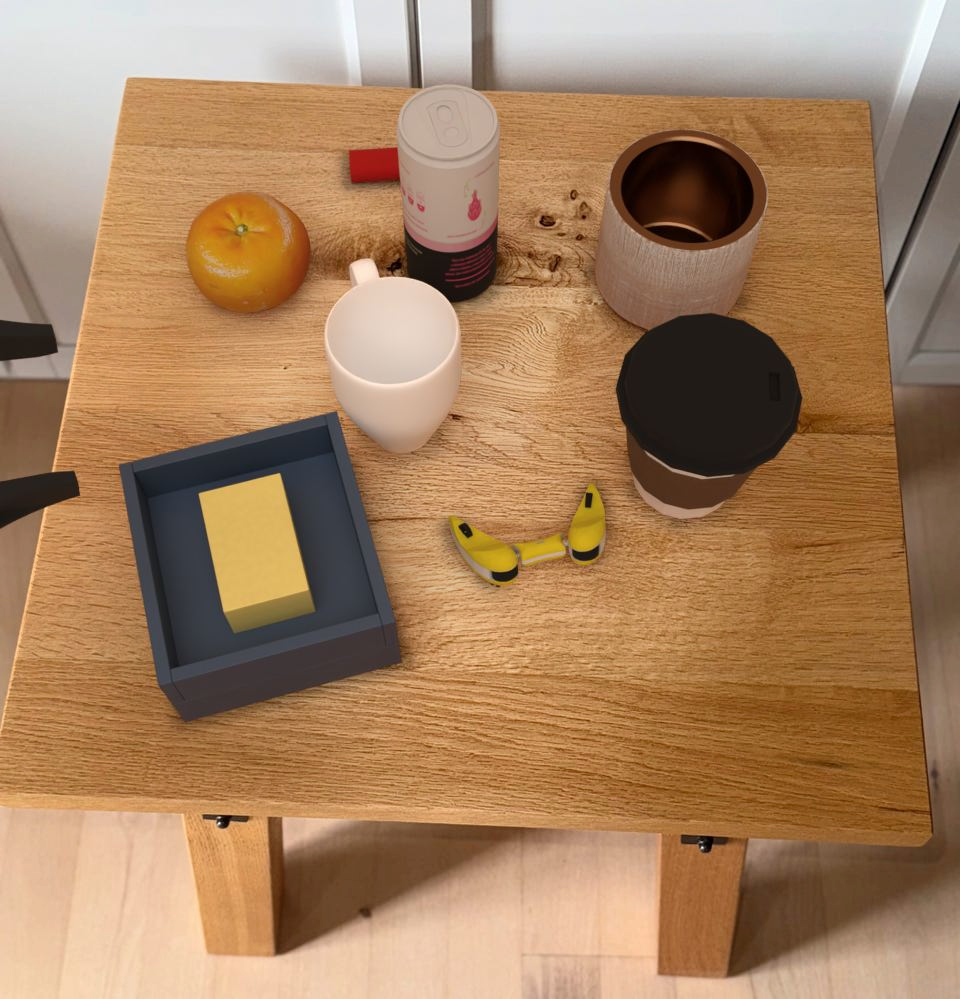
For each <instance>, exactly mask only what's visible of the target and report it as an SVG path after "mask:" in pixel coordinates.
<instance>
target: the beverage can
mask: <svg viewBox="0 0 960 999" xmlns="http://www.w3.org/2000/svg"><path fill="white" fill-rule="evenodd" d="M395 130H396V134H395V135H396V146H397V147H398V159H399V172H400V180H399V182H400V183H399V184H400V195H401V196H400V197H401V208H402V221H403V232H404V246H405V256H406V258H405V260H406V268H407V269H406V270H407V275H408V276H407V277H408V278H411V279H415V280H418V281H421V282H424V283H426V284H428V285H430V286H432V287H433V288H435V289H436V290H438V291H439V292H440V293H441V294H443V295H444V296H445V297H446V299H447V300H448V301H449V302H450V304H457V303H465V302H468V301H471V300H473V299H475V298H477V297H479V296H481V295H482V294H483V293H484V292H486V291H487V290H488V289H489V288H490V286H491V285H492V283H494V282H493V281H494V280H495V278H496V275H497V269H498V236H499V235H498V233H499V232H498V230H499V195H500V194H499V192H500V185H499V184H500V158H501V157H500V156H501V155H500V154H501V124H500V121H499V118H498V113H497V111H496V109H495V107H494V105H493V103H492V102H491V101H490V100H489V98H487V97H486V96H485V95H484V94H482V93H481V92H480V91H478V90H476V89H473V88H471V87H469V86H464V85H461V84H453V83H448V84H447V83H446V84H445V83H443V84H436V85H432V86H428V87H426V88H423V89H421V90H418V91H417V92H416V93H414V94H413V95H412V96H410V97H409V98H408V99H407V100H406V101H405V103H404V104H403V105H402V107H401V109H400V111H399V114H398V119H397V122H396V129H395Z"/></svg>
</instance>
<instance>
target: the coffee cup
mask: <svg viewBox="0 0 960 999" xmlns="http://www.w3.org/2000/svg"><path fill="white" fill-rule="evenodd" d="M615 396H616V399H617V404H618V409H619V410H618V411H619V416H620V420H621V422H622V423H623V425H624V426H625V435H626V451H627V455H628V460H629V466H630V470H631V473H632V479H633V483H634V488H635V489H636V491H637V492H638V493H639V495H640V496H641V498H642V499H643V501H644V502H645V504H647V505H648V506H649V507H651V508H652V509H654V510H656V511H657V512H658V513H660V514H661V515H663V516H667V517H670V518H674V519H678V520H685V519H694V518H695V519H696V518H702V517H705V516H707V515H709V514H710V513H712V512H715V511H716V510H719V509H720V508H721V506H722V505H723V504H724V503H725V502H726V501H727V500H730V499H731V498H733V497H734V495H735V494H736V493H737V492H738V491H739V490H740V488H741V487H742V486H743V485H744V483H745V482H746V481H747V480H748V479H749V478H750V476H751V475H752V474H754V471H756V469H757V468H758V467H760V466H762V465H764V464H767V463H768V462H770V461H772V460H774V459H775V458H777V456H778V455H779V453H780V452H781V451H782V450H783V449H784V447H785V446H786V444H787V443H788V442H789V441H790V440H791V438H792V437H794V436H793V435H795V432H796V430H797V428H798V423H799V418H800V413H801V408H802V403H803V395H802V391H801V388H800V384H799V380H798V376H797V373H796V370H795V367H794V366H793V364H792V361H791V360H790V358H789V357H788V356H787V355H786V353H785V352H784V351H783V350H782V349H781V347H780V346H779V344H778V343H777V342H776V341H775V340H774V338H773V337H772V336H771V335H768V333H765V332H764V331H762V330H760V329H759V328H757V327H755V326H754V325H752V324H751V323H749V322H747V321H746V320H743V319H741V318H740V319H739V318H735V317H731V316H727V315H725V316H723V315H718V314H714V313H705V314H694V315H683V316H678V317H676V318H674V319H672V320H670V321H667V322H665V323H663V324H661V325H659V326H657V327H655V328H652V329H651V330H647V331H645V332H644V333H643V334H642V336H640V337H639V339H638V340H637V341H636V342H635V343H634V344H633V346H632V347H631V348H629V350H628V351H627V352H626V353H625V354H624V357H623V360H622V364H621V368H620V371H619V375H618V378H617V381H616V385H615Z"/></svg>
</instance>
